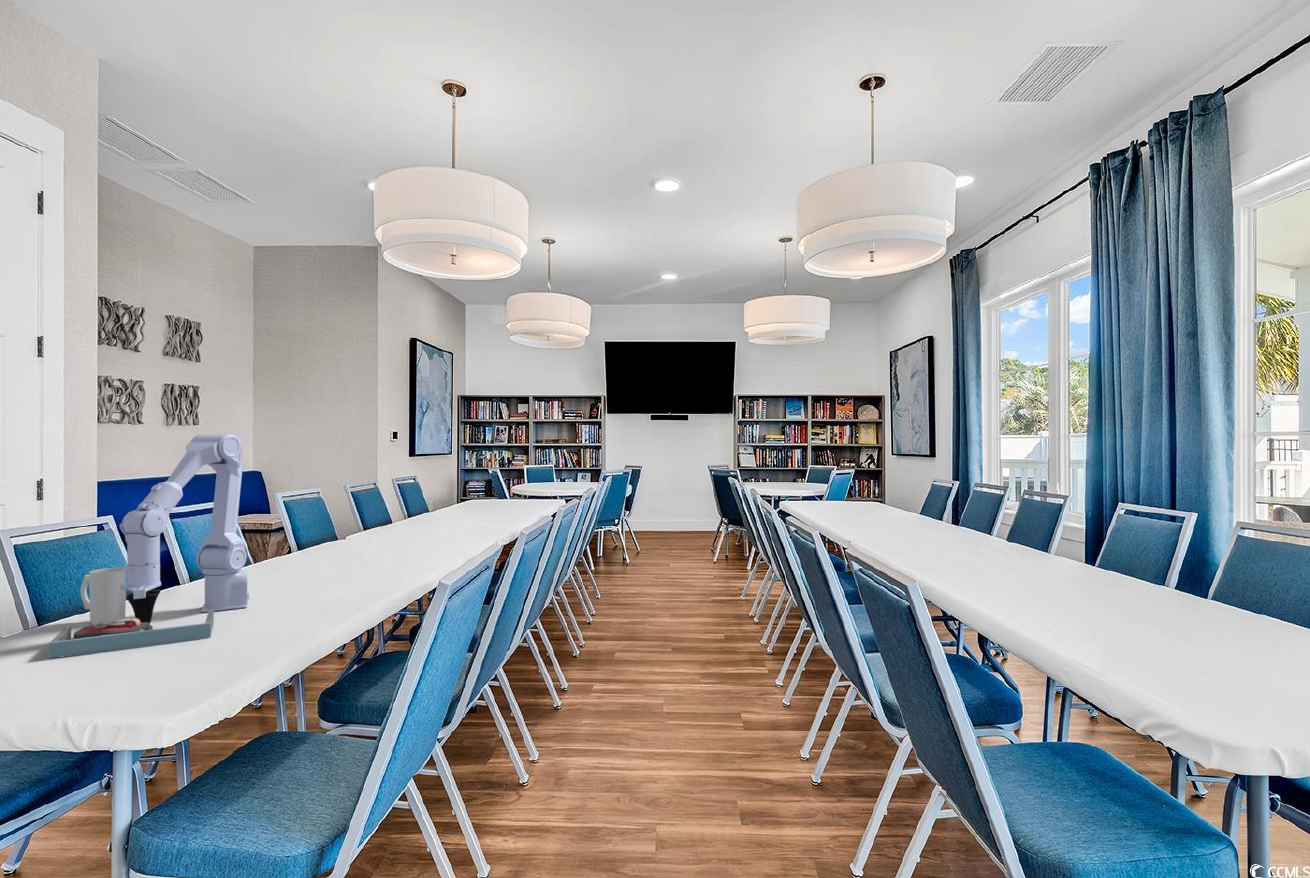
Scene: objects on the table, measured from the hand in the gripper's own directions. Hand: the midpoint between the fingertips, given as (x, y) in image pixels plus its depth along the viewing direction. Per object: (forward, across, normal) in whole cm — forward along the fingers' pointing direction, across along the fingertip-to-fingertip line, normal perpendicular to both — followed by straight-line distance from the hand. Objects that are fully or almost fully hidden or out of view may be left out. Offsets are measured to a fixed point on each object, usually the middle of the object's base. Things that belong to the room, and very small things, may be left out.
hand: (144, 624), depth 145 cm
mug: (+2, -15, -10) cm, 18 cm away
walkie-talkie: (+2, +7, -2) cm, 7 cm away
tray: (+1, +7, 0) cm, 7 cm away
